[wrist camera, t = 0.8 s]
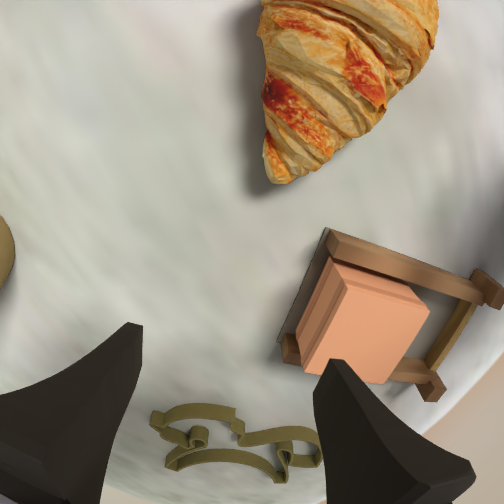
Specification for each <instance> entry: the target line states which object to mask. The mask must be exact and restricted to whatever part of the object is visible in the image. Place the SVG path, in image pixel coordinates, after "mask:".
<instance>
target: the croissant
mask: <svg viewBox="0 0 504 504" xmlns="http://www.w3.org/2000/svg"><path fill="white" fill-rule="evenodd" d="M260 1H261V4H262V6H263V7H264V9H263V12H262V13H261V15H260V23H259V26H258V30H257V34H256V35H257V36H258V37H260V38H261V39H262V41H263V48H264V54H265V58H266V73H265V80H264V84H263V89H262V94H261V98H262V102H263V109H264V111H265V123H266V128H267V129H268V131H267V132H266V134H265V138H264V143H263V155H262V157H263V159H264V166H265V171H266V174H267V176H268V178H269V179H270V181H271V183H274V184H287V183H290V182H291V181H293V180H295V179H296V178H297V177H298V176H305V175H307V174H308V173H309V171H317V170H318V169H319V168H320V167H321V166H322V164H324V163H326V162H328V161H329V160H331V157H332V155H333V153H334V152H335V151H337V150H340V149H341V148H342V147H343V146H344V145H345V144H346V143H348V142H349V141H350V140H352V138H358V137H361V136H362V135H364V134H366V133H368V132H370V131H371V129H372V128H373V127H374V125H376V124H377V123H378V122H379V121H380V120H381V118H382V117H383V115H384V113H385V111H386V109H387V103H388V102H389V100H390V99H391V98H392V97H394V96H395V95H396V94H397V93H398V91H399V90H402V89H403V87H404V85H406V84H408V83H410V82H411V81H412V80H413V79H414V78H415V77H416V76H417V74H418V73H419V72H420V71H421V69H423V67H424V64H425V63H426V62H427V60H428V58H429V55H430V51H431V49H434V44H435V36H436V34H437V28H438V18H439V9H438V2H437V0H260Z"/></svg>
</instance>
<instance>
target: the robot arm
mask: <svg viewBox="0 0 504 504" xmlns="http://www.w3.org/2000/svg"><path fill="white" fill-rule="evenodd" d="M142 341H143V326H142V325H138V324H134V323H130V322H127V323H126V324H124V325H123V326H122V327H121V328H120V329H118V330H117V331H116V332H115V333H114V334H113V335H111V336H110V337H109V338H108V339H107V340H105V341H104V342H103V343H102V344H100V345H99V346H98V347H97V348H95V349H94V350H93V351H91V352H90V353H89V354H87V355H86V356H84V357H83V358H81V359H80V360H79V361H77V362H76V363H74V364H73V365H71V366H69V367H68V368H66V369H64V370H63V371H61V372H59V373H57V374H55V375H53V376H51V377H49V378H47V379H45V380H43V381H40V382H38V383H36V384H34V385H31V386H28V387H25V388H23V389H20V390H16V391H13V392H10V393H6V394H2V395H0V504H100V498H101V492H102V487H103V482H104V477H105V473H106V469H107V464H108V460H109V456H110V452H111V449H112V445H113V441H114V438H115V435H116V432H117V430H118V427H119V425H120V423H121V420H122V418H123V415H124V413H125V411H126V408H127V406H128V404H129V401H130V399H131V397H132V394H133V392H134V390H135V387H136V384H137V381H138V377H139V374H140V370H141V367H142ZM313 407H314V417H315V422H316V427H317V431H318V436H319V441H320V445H321V450H322V455H323V460H324V466H325V477H326V495H327V504H452V501H454V500H455V499H456V498H457V497H459V496H460V495H461V494H462V493H464V492H465V491H466V490H467V489H468V488H469V487H470V486H471V485H472V484H473V483H474V481H475V479H476V475H475V472H474V470H473V468H472V466H471V464H470V462H469V460H466V459H464V458H461V457H459V456H457V455H455V454H452V453H450V452H448V451H445V450H444V449H442V448H440V447H438V446H437V445H435V444H433V443H432V442H430V441H428V440H427V439H425V438H424V437H422V436H421V435H419V434H418V433H416V432H415V431H414V430H412V429H411V428H410V427H408V426H407V425H406V424H405V423H404V422H402V421H401V420H400V419H399V418H398V417H397V416H395V415H394V414H393V413H392V412H391V411H390V410H389V409H388V408H387V407H386V406H385V405H384V404H383V403H382V402H381V401H380V400H379V399H378V398H377V397H376V396H375V394H374V393H373V392H372V391H371V390H370V389H369V388H368V387H367V385H366V384H365V383H364V382H363V381H362V380H361V379H360V377H359V376H358V375H357V374H356V373H355V372H354V370H353V369H352V368H351V367H350V366H349V365H348V364H347V362H346V361H345V360H344V359H334V358H329V361H328V363H327V365H326V367H325V369H324V371H323V373H322V375H321V377H320V379H319V382H318V384H317V386H316V388H315V390H314V392H313Z"/></svg>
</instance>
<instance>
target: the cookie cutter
mask: <svg viewBox="0 0 504 504" xmlns="http://www.w3.org/2000/svg"><path fill="white" fill-rule="evenodd" d="M191 418H199V419H211V420H218V421H224V422H229V423H230V430H231V431H232V432H234V433H237V434H238V445H239V446H241V447H252V446H258V445H264V444H269V443H274V442H276V453H277V456H278V458H279V459H280V461H281V463H282V465H283V467H284V469H285V470H284V472H275V469H274V467H273V466H272V465H271V464H270V463H269V462H268V461H267V460H265V459H264V458H262V457H260V456H258V455H255V454H253V453H249V452H246V451H241V450H234V449H207V450H201V451H196V452H193V453H190V452H192V451H195V450H198V449H202V448H206V447H207V444H208V435H209V431H208V429H207V428H205V427H203V426H198V425H196V426H193V427H192V428H191V434H190V436H189V435H187V434H185V433H184V432H182V431H180V430H177V429H173V428H171V427H169V426H167V425H169V424H170V423H172V422H175V421H178V420H182V419H191ZM149 425H150V426H151V427H152V428H153V429H155V430H156V431H158V432H159V433H160V437H161V438H163V439H164V440H166V441H169V442H172V443H176V444H178V446H177V447H176V448H175V449H173V450H172V451H171V452H170V453H169V454H168V455H167V457H166V462H165V468H168V469H171V470H174V471H177V472H178V471H179V470H181V469H183V468H186V467H188V466H191V465H195V464H200V463H207V462H233V463H240V464H245V465H249V466H252V467H255V468H258V469H260V470H262V471H264V472H266V473H267V474H268V475H269V476H270V477H271V478H272V479H273V481H274V483H287V481H288V477H289V476H288V465H289V466H294V467H303V468H314V467H318V466H319V465H320V463H321V462H322V460H323V455H322V450H321V445H320V441H319V436H318V433H317V432H315V431H314V430H312V429H309V428H306V427H301V426H285V427H278V428H272V429H267V430H262V431H257V432H251V433H245V423H244V422H243V421H242V420H239V419H237V418H235V408H231V407H226V406H221V405H214V404H204V403H191V404H184V405H179V406H176V407H174V408H172V409H170V410H169V411H168V412H166V413H162V412H158V411H153V412H152V416H151V420H150V423H149ZM291 440H302V441H308V442H311V443H313V444H315V445H316V446H318V450H317V452H316V453H315V455H297V454H293V446H292V441H291ZM283 450H285V451H288V452H287V460H288V465H287V460H286V457H285V454H284V452H283ZM187 453H190V454H187ZM185 454H187V455H185ZM183 455H185V456H183ZM181 456H183V457H181ZM180 457H181V458H180ZM178 458H179V459H178Z"/></svg>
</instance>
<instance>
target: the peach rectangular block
mask: <svg viewBox="0 0 504 504" xmlns="http://www.w3.org/2000/svg"><path fill="white" fill-rule="evenodd" d="M429 313H430V311H429V310H428V309H427V306H426V305H425V303H424V302H423V301H421V300H420V299H419V298H418V297H417V296H416V294H415V293H414V292H413V291H412V290H411V289H410V286H409V285H408V284H407V283H405V282H404V281H403V280H402V279H399V278H396V277H393V276H390V275H387V274H384V273H381V272H378V271H375V270H372V269H368V268H365V267H362V266H359V265H356V264H353V263H350V262H346V261H343V260H340V259H337V258H334V257H331V256H329V258H328V260H327V263H326V265H325V267H324V269H323V272H322V274H321V276H320V278H319V281H318V283H317V285H316V287H315V290H314V292H313V294H312V296H311V298H310V301H309V303H308V305H307V307H306V309H305V311H304V313H303V316H302V318H301V320H300V322H299V324H298V326H297V328H296V330H295V331H296V340H297V341H298V345H299V350H300V354H301V365H302V366H303V369H304V372H306V373H312V374H317V375H322V373H323V371H324V369H325V367H326V365H327V363H328V361H329V358H334V359H344V360H345V361H346V362H347V364H348V365H349V366H350V367H351V368H352V369H353V370H354V372H355V373H356V374H357V375H358V376H359V377H360V379H361V380H362V381H363V382H370V383H377V384H384V383H385V381H386V380H387V379H388V377H389V376H390V374H391V373H392V372H393V370H394V369H395V367H396V366H397V364H398V363H399V361H400V360H401V358H402V357H403V355H404V354H405V352H406V351H407V349H408V348H409V346H410V345H411V343H412V341H413V340H414V338H415V337H416V335H417V333H418V332H419V330H420V329H421V327H422V325H423V324H424V322H425V320H426V319H427V317H428V315H429Z"/></svg>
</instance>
